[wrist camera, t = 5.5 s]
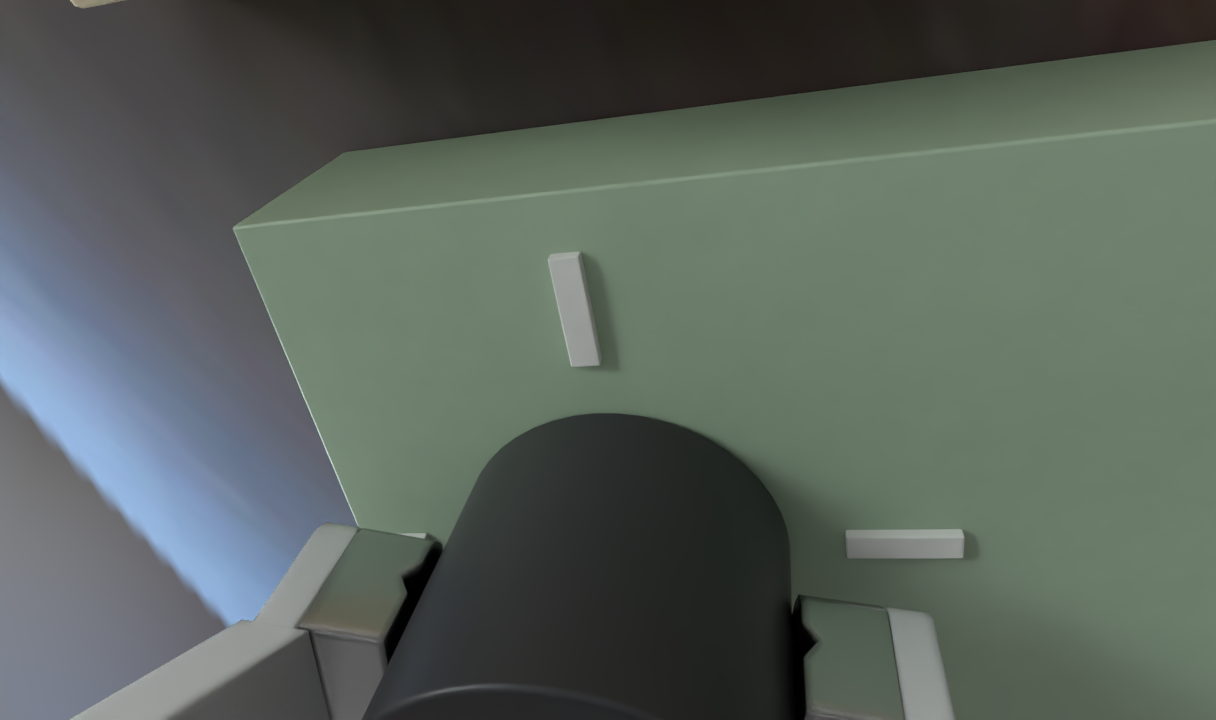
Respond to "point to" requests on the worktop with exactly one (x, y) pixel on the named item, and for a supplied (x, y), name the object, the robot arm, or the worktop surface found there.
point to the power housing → (92, 2)
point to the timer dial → (604, 586)
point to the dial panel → (824, 343)
